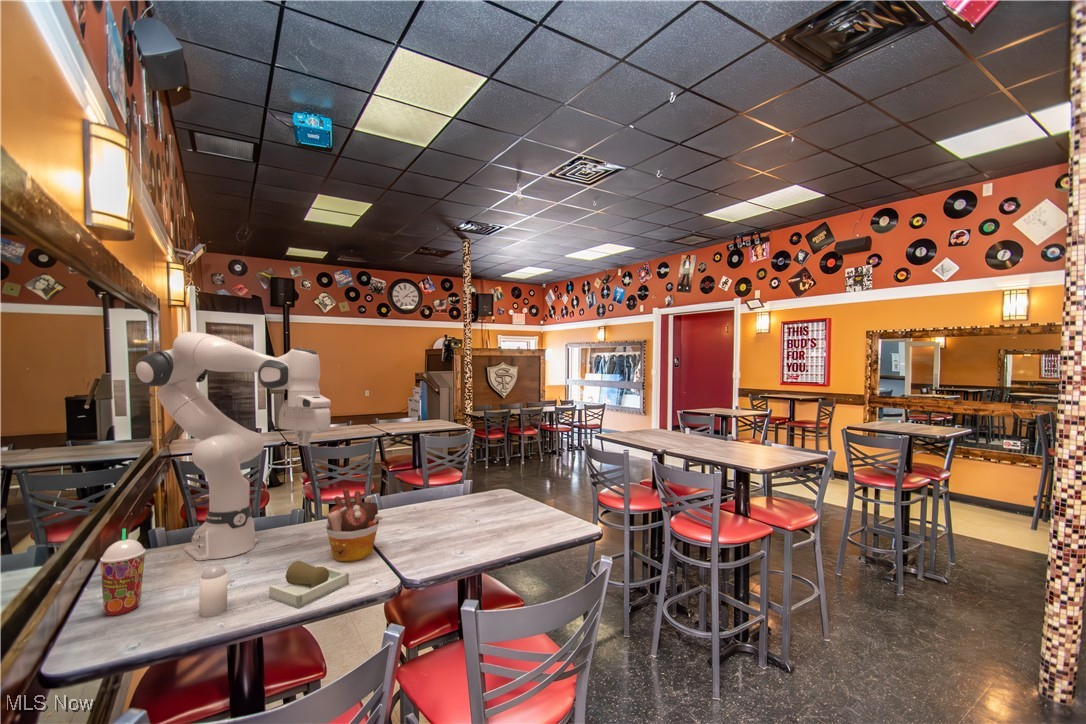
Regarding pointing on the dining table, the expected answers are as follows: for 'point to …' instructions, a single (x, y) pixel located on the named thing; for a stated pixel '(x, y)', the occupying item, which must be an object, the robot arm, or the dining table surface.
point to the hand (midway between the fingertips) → (303, 445)
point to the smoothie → (122, 575)
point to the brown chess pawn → (306, 574)
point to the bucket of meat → (352, 527)
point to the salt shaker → (213, 591)
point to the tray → (309, 589)
